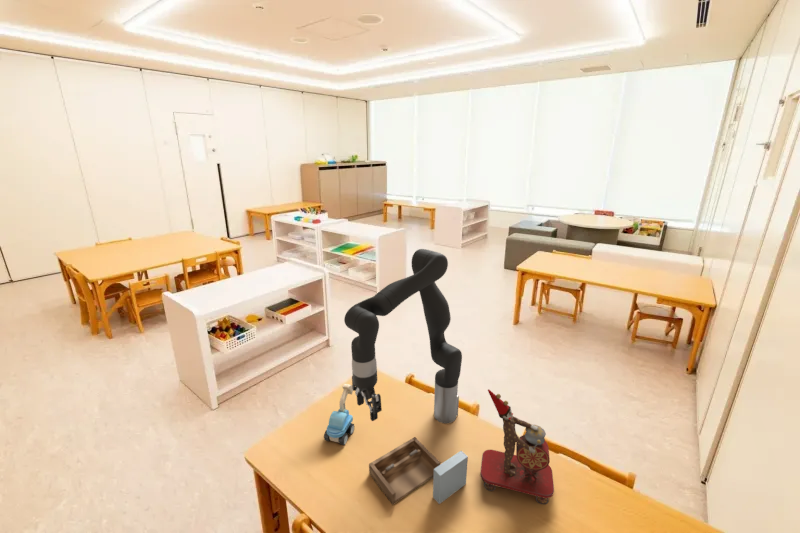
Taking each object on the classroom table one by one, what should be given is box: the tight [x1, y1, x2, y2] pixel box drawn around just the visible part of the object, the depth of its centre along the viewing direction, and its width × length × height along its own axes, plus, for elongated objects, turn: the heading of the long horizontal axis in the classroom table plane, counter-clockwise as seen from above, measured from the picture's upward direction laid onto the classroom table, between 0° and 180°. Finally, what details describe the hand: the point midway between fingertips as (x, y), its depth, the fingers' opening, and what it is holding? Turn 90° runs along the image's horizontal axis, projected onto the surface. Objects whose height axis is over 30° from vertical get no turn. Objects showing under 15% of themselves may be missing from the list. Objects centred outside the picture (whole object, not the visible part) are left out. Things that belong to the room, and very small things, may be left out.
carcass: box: [368, 436, 441, 506], centre depth 124 cm, size 20×14×5 cm
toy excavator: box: [323, 383, 355, 446], centre depth 140 cm, size 9×17×17 cm, turn 161°
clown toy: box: [479, 389, 555, 505], centre depth 115 cm, size 13×23×35 cm, turn 73°
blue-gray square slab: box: [432, 450, 469, 505], centre depth 116 cm, size 12×3×12 cm, turn 126°
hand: (367, 411), depth 115 cm, fingers open, 8 cm apart
